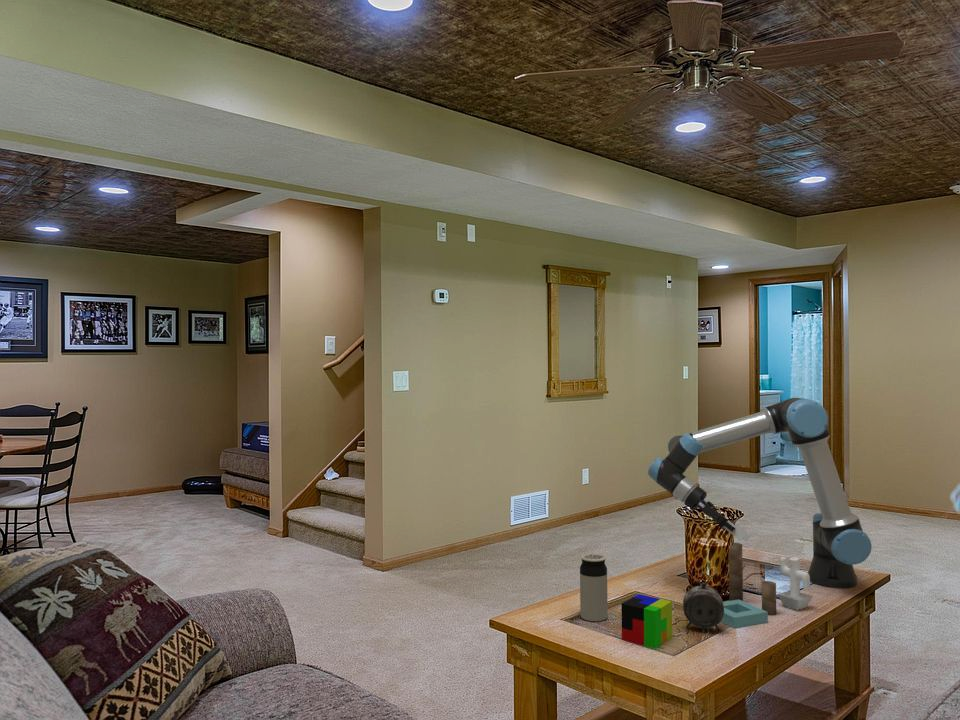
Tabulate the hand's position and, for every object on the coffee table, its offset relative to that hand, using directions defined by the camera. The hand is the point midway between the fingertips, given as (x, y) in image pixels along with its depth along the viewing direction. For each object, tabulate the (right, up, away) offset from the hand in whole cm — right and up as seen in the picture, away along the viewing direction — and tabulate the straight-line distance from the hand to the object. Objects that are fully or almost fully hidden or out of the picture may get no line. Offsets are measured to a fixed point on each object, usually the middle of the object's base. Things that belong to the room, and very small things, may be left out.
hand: (746, 538), depth 228 cm
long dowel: (-3, -20, +1) cm, 20 cm away
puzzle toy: (-38, -21, -29) cm, 52 cm away
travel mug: (-49, -21, -12) cm, 55 cm away
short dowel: (+3, -20, -10) cm, 23 cm away
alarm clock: (-20, -20, -23) cm, 37 cm away
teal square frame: (-8, -20, -14) cm, 26 cm away
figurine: (+13, -20, -5) cm, 25 cm away
